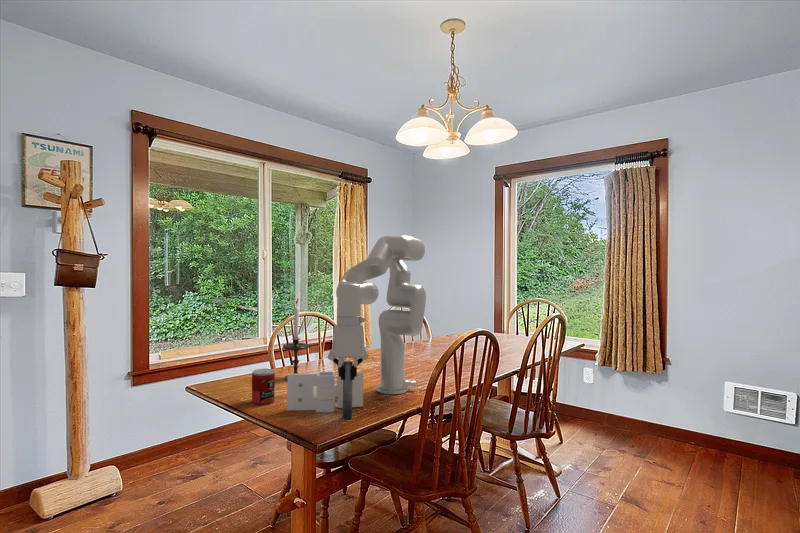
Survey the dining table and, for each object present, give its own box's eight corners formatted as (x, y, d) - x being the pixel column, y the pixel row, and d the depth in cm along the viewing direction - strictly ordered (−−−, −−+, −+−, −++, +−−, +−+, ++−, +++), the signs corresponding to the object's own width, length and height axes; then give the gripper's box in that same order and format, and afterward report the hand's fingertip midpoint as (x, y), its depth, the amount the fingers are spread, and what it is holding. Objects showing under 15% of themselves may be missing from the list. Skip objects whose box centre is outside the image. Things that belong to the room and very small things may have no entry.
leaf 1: (334, 406, 147) (335, 371, 147) (333, 411, 141) (334, 375, 141) (288, 407, 145) (289, 372, 146) (285, 412, 140) (286, 376, 140)
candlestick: (313, 377, 184) (315, 297, 184) (295, 383, 175) (296, 298, 175) (295, 374, 190) (297, 296, 190) (277, 379, 180) (278, 297, 180)
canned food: (262, 407, 145) (262, 374, 145) (246, 402, 149) (247, 371, 149) (279, 401, 152) (279, 370, 152) (264, 397, 156) (264, 367, 156)
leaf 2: (361, 403, 150) (361, 370, 150) (363, 408, 144) (364, 374, 144) (316, 406, 146) (316, 372, 146) (317, 411, 140) (317, 376, 140)
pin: (351, 416, 137) (352, 360, 137) (351, 419, 134) (352, 362, 134) (342, 416, 137) (343, 360, 137) (342, 419, 134) (343, 363, 134)
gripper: (373, 320, 140) (372, 375, 140) (323, 320, 139) (322, 376, 139) (374, 323, 133) (373, 381, 133) (321, 323, 131) (320, 382, 131)
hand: (347, 378), depth 136 cm, fingers closed on pin, 3 cm apart
